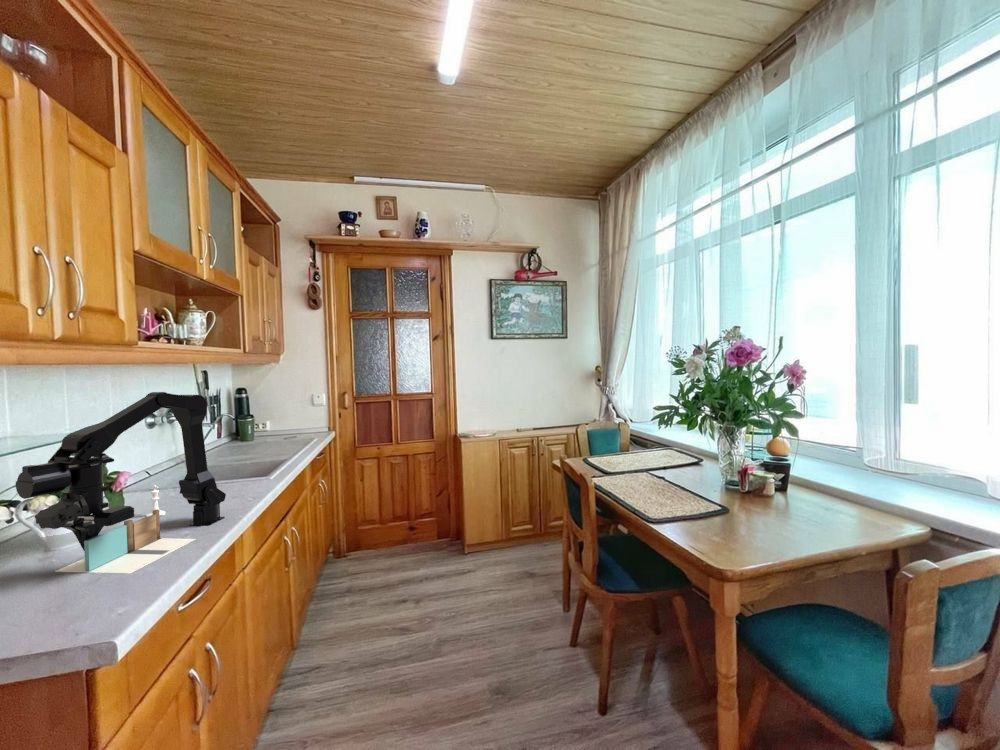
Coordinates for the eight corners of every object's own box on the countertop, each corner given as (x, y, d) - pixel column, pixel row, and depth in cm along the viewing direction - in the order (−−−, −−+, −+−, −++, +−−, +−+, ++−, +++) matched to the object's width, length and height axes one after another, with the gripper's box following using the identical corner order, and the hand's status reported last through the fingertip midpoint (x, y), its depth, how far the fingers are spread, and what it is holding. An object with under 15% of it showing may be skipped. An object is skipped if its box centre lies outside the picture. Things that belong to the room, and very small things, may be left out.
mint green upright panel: (123, 552, 100) (122, 525, 100) (127, 552, 100) (126, 525, 100) (85, 570, 91) (84, 541, 91) (89, 571, 91) (88, 541, 91)
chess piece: (149, 514, 129) (148, 483, 128) (168, 511, 130) (167, 482, 130) (142, 519, 124) (141, 488, 124) (161, 517, 126) (160, 486, 126)
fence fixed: (156, 537, 109) (155, 509, 109) (162, 537, 109) (160, 509, 109) (123, 553, 100) (122, 522, 100) (129, 553, 100) (128, 522, 100)
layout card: (131, 539, 110) (131, 537, 110) (196, 540, 108) (195, 538, 108) (54, 573, 92) (54, 571, 92) (130, 575, 90) (130, 572, 90)
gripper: (4, 495, 85) (6, 566, 86) (84, 497, 84) (85, 569, 85) (64, 480, 96) (65, 543, 97) (135, 482, 95) (136, 545, 96)
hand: (87, 550), depth 93 cm, fingers closed
